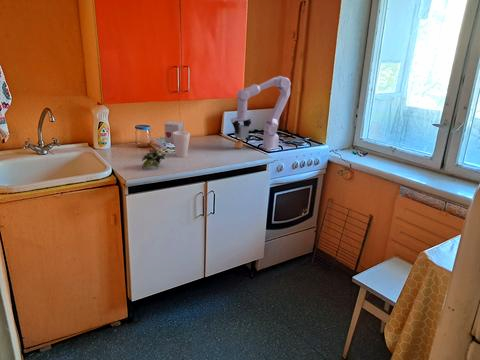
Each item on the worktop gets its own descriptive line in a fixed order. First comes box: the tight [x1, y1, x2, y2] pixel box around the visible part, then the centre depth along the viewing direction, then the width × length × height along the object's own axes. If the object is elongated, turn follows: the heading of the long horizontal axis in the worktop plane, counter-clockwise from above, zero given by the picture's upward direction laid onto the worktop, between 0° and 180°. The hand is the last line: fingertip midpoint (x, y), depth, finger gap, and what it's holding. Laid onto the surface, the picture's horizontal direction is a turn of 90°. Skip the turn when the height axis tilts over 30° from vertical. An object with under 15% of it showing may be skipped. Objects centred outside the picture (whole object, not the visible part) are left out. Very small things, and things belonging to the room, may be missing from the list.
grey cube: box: [234, 124, 250, 139], centre depth 229 cm, size 6×6×6 cm
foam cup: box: [173, 130, 191, 158], centre depth 213 cm, size 10×9×13 cm
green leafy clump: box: [141, 148, 166, 170], centre depth 192 cm, size 11×11×12 cm
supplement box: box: [164, 120, 185, 144], centre depth 229 cm, size 9×9×15 cm
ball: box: [234, 140, 244, 150], centre depth 233 cm, size 5×5×5 cm
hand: (241, 133), depth 230 cm, fingers closed on grey cube, 6 cm apart
